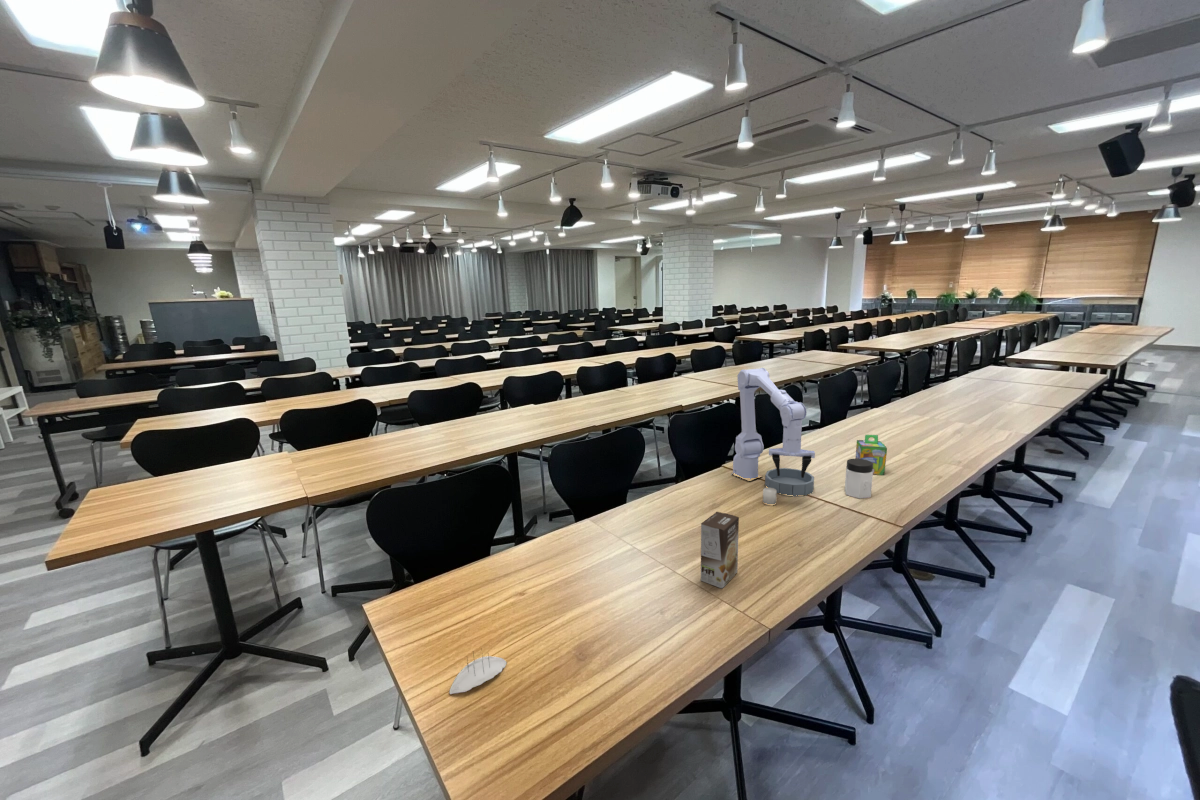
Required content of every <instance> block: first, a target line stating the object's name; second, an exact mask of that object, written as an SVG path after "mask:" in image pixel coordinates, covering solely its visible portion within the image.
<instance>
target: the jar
mask: <svg viewBox="0 0 1200 800" xmlns="http://www.w3.org/2000/svg"><path fill="white" fill-rule="evenodd" d="M845 467H846V468H845V477H844V478H845V479H844V480H845V481H844V492H845V495H846V496H849V497H852V498H855V499H868V498H871V497H872V490H873V489H872V487H873V478H874V477H873V475H874V474H873V472H872V470H873V463H872V462H870V461H868V460H864V459H855V458H849V459H847V461H846V466H845Z"/></svg>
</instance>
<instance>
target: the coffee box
mask: <svg viewBox="0 0 1200 800" xmlns="http://www.w3.org/2000/svg"><path fill="white" fill-rule="evenodd" d="M739 518H740V517H739V516H736V515H733V514H730V513H726V512H720V511H716V512H714V513H713V514H712V515H710V516H709V517H708V518H707V519H705V520H704V521H702V522H700V531H701V532H700V581H701V582H704V583H707V584H708V585H712V586H714V587H717V588H719V589H723V588H725V586H726V585H727V584H729V582H730V581H731V580H732V579H733V578H734V577H735V576H736V575H737V574H738V565H739V564H738V562H739V559H738V557H739V525H740V524H739V521H740V520H739ZM736 573H737V574H736ZM735 574H736V575H735Z"/></svg>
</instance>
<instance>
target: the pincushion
mask: <svg viewBox="0 0 1200 800" xmlns="http://www.w3.org/2000/svg"><path fill="white" fill-rule="evenodd" d="M481 650H483V649H482V648H481ZM472 654H473V657H475V655H474V652H472ZM481 655H482V656H481V657H478V658H476V659H473V661H471V662H469V660H468V657H466V659H467V660H466V661H467V663H466V664H467V665H465V666H464V667H463V668H462V669H461V670H460V671H459V672H458V674H457V675H456V676H455V678H454V680H453V681H452V685H451V687H450V688H449V691H448V692H449V694H450V695H452V694H459V693H466V692H467V691H470V690H472V688H475V687H476V688H477V686H480V685H482V684H483V683H486V681H489V680H491V679H494V677H495V676H496V675H497V676H498V674H499V673H502V671H503V669H504V668H506V665H507V663H508V662H507V661H506V660H505V659H504V658H503V657H500V656H499V657H498V656H491V655H489V654H487V656H484V655H483V654H481Z"/></svg>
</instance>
